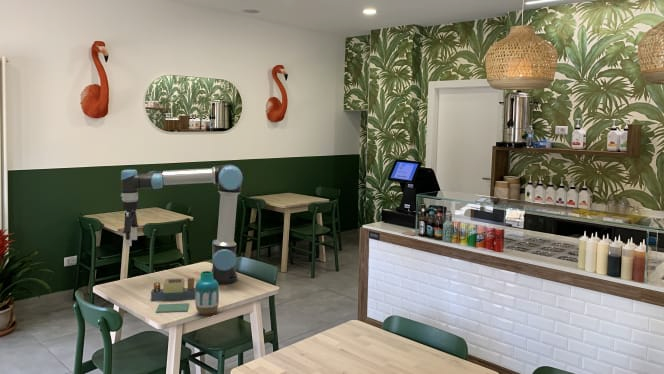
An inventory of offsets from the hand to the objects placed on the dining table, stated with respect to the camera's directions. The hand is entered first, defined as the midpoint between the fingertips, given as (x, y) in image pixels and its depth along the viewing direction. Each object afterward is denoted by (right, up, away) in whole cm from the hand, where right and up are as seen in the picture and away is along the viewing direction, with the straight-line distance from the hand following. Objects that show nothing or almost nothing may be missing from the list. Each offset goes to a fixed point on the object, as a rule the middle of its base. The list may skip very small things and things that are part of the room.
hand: (131, 242), depth 266 cm
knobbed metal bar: (+23, -27, -5) cm, 36 cm away
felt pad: (+26, -29, -19) cm, 43 cm away
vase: (+44, -30, -24) cm, 58 cm away
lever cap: (+23, -23, -6) cm, 33 cm away
